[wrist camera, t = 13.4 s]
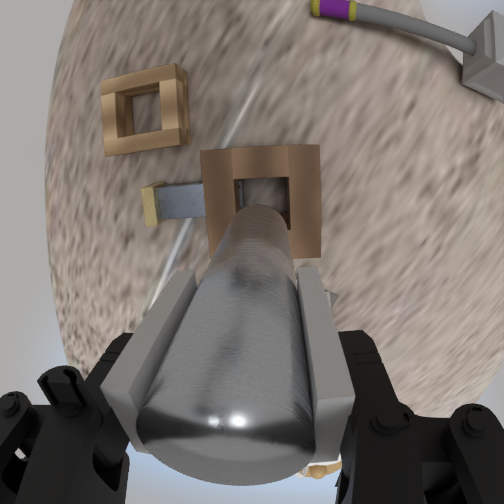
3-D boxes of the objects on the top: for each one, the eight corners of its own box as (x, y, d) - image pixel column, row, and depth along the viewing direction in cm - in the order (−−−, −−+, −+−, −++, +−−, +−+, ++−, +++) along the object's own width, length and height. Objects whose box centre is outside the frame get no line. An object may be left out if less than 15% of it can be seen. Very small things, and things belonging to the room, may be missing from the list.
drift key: (158, 217, 40) (146, 226, 36) (153, 183, 38) (140, 188, 34) (244, 212, 39) (241, 220, 35) (242, 175, 37) (238, 179, 33)
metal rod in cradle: (226, 206, 20) (110, 383, 5) (286, 203, 20) (324, 392, 5) (231, 261, 21) (162, 477, 6) (288, 260, 21) (308, 484, 6)
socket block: (222, 239, 41) (211, 261, 33) (214, 149, 37) (200, 150, 29) (311, 235, 40) (320, 257, 32) (309, 144, 36) (319, 144, 28)
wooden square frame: (118, 86, 34) (101, 81, 29) (186, 72, 33) (175, 63, 29) (123, 154, 37) (105, 156, 33) (191, 144, 37) (179, 144, 32)
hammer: (298, 0, 22) (551, 89, 15) (306, -47, 19) (546, 36, 12) (315, 47, 36) (500, 105, 29) (322, 7, 33) (501, 63, 26)
